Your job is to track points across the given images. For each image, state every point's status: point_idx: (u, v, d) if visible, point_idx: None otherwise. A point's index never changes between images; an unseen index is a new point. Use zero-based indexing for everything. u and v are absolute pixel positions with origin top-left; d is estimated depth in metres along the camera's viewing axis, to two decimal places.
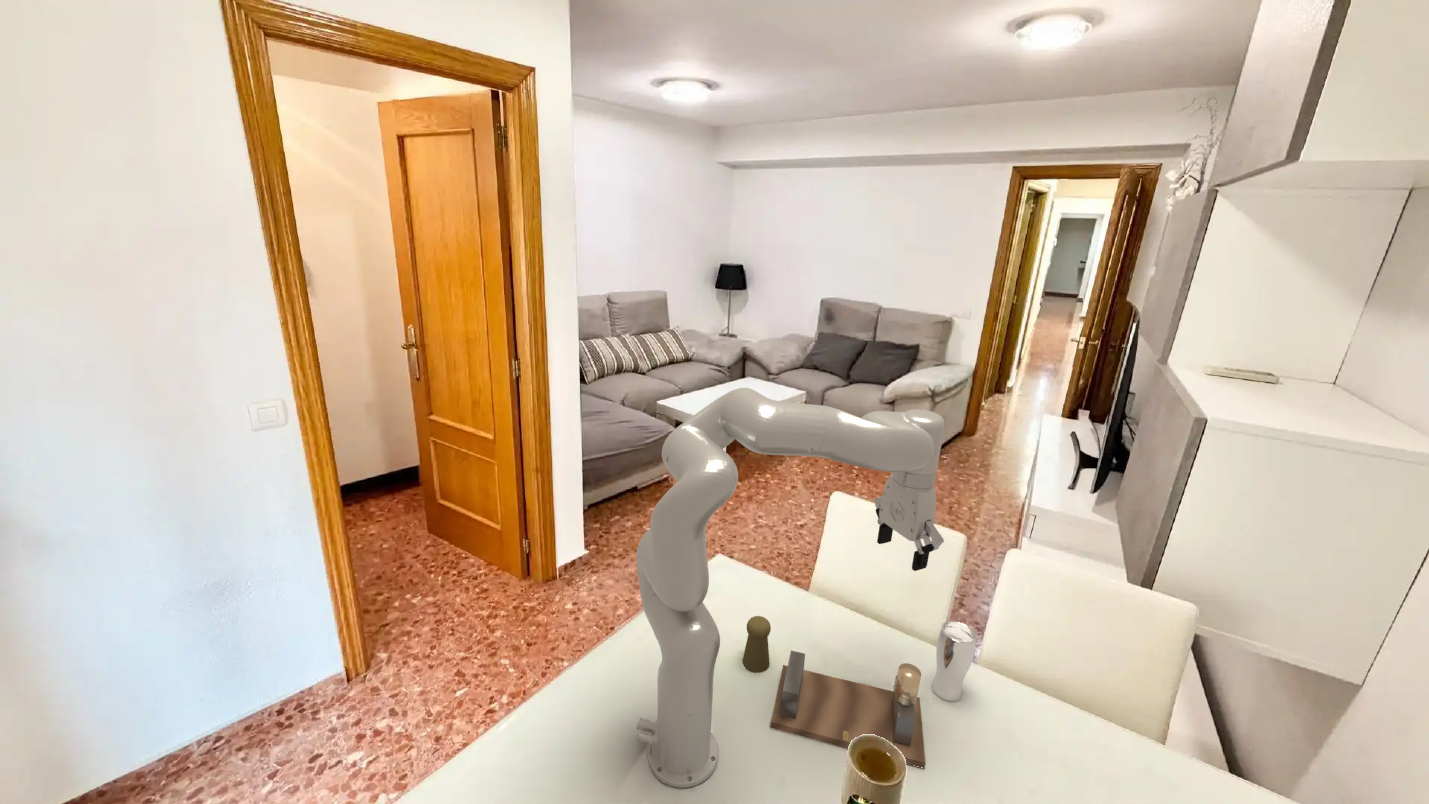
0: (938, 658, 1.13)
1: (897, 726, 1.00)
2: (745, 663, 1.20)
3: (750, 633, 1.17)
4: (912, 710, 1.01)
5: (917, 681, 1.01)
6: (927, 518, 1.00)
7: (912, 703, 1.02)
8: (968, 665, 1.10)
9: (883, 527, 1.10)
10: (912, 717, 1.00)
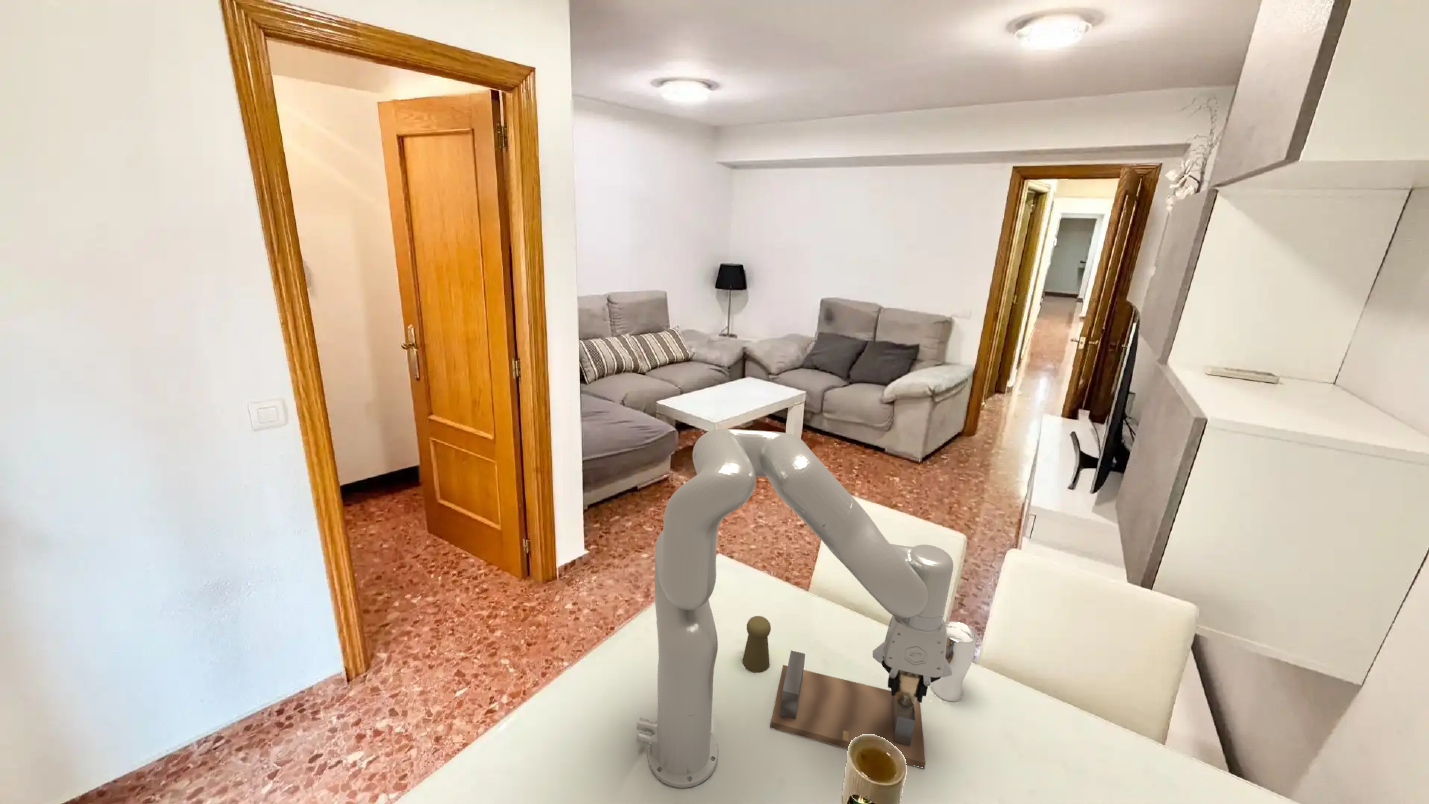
0: None
1: (897, 726, 1.00)
2: (745, 663, 1.20)
3: (750, 633, 1.17)
4: (912, 710, 1.01)
5: (917, 681, 1.01)
6: None
7: (912, 703, 1.02)
8: (968, 665, 1.10)
9: (897, 678, 1.02)
10: (912, 717, 1.00)
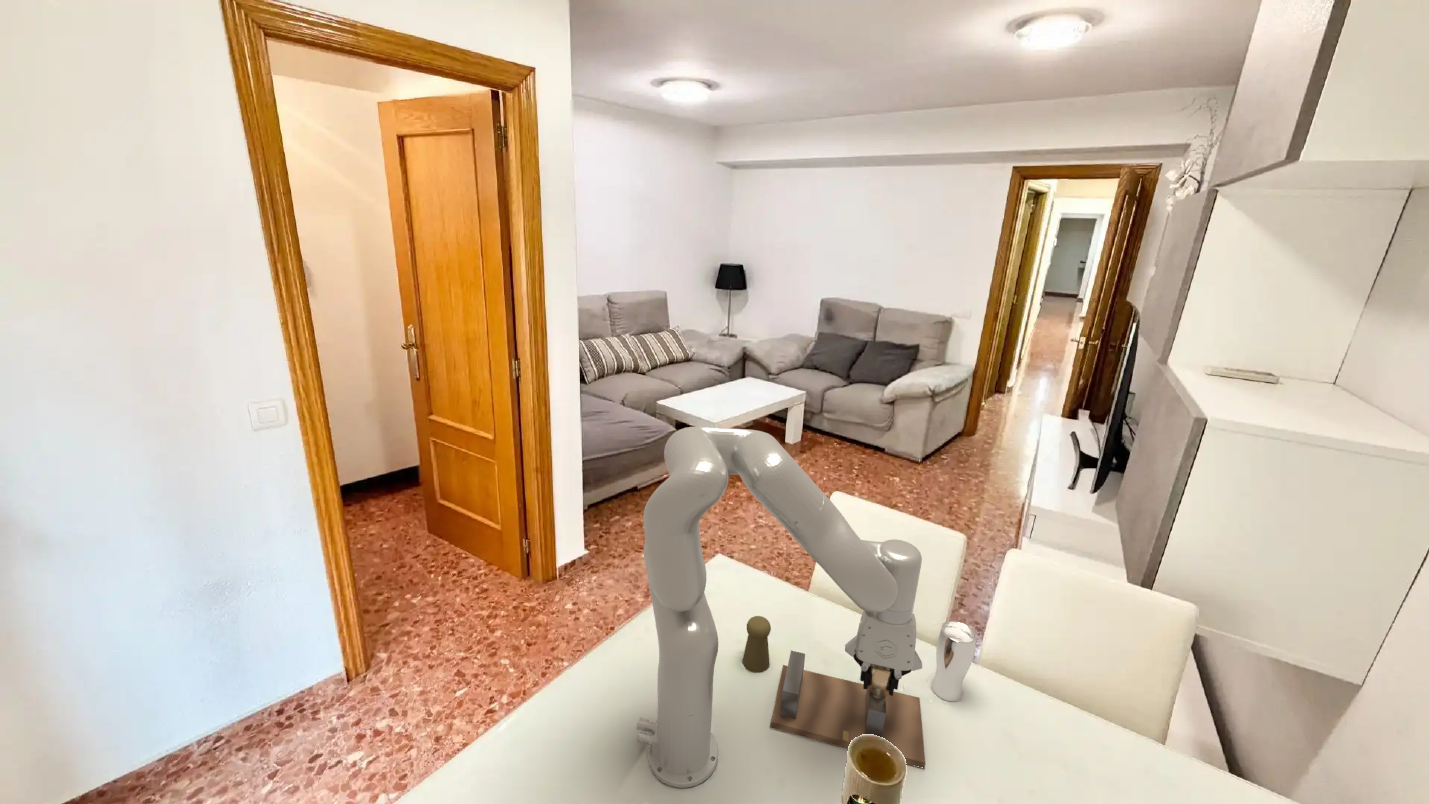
0: (938, 658, 1.13)
1: (868, 719, 1.02)
2: (745, 663, 1.20)
3: (750, 633, 1.17)
4: (883, 703, 1.02)
5: (889, 674, 1.02)
6: None
7: (884, 696, 1.03)
8: (968, 665, 1.10)
9: (869, 672, 1.03)
10: (883, 710, 1.01)
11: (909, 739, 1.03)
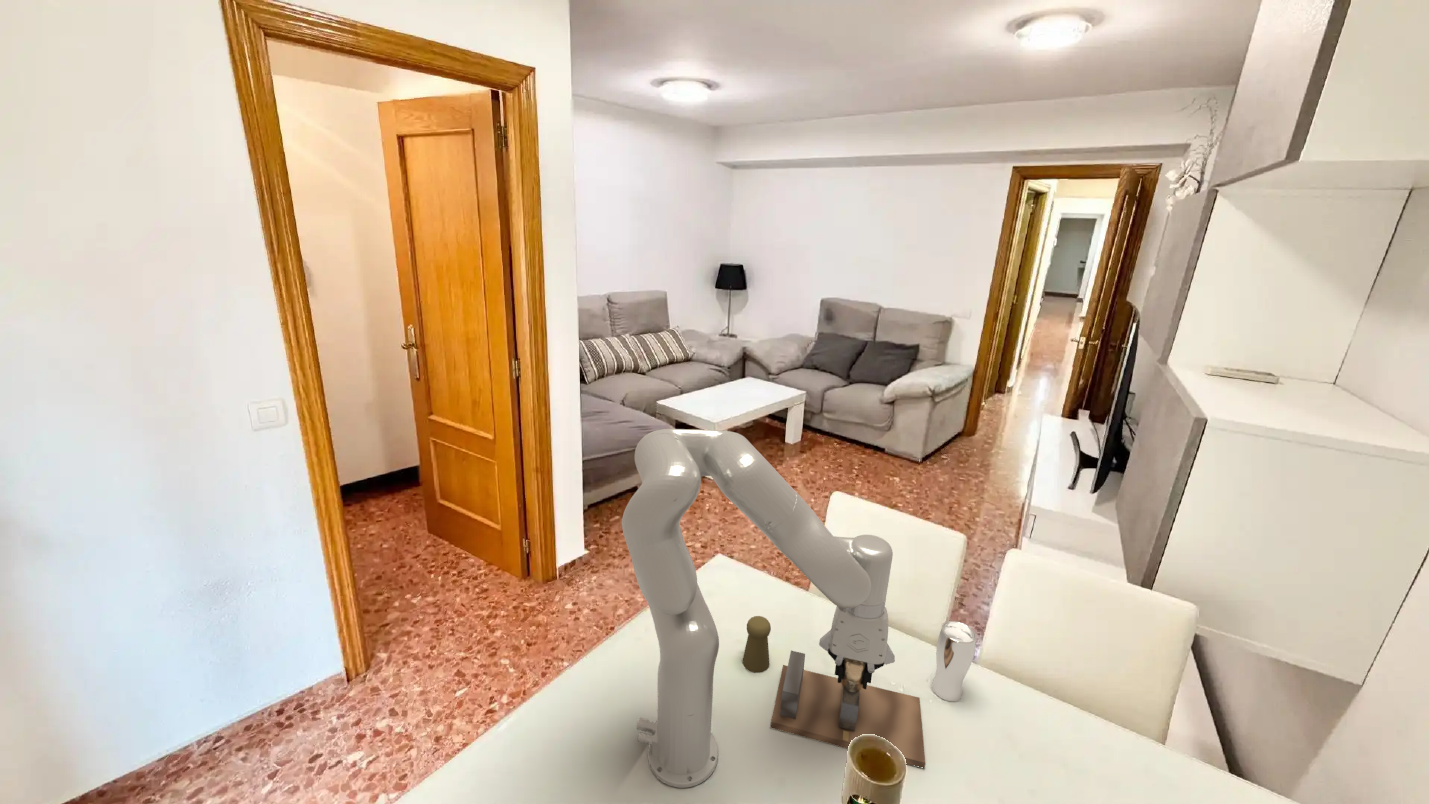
0: (938, 658, 1.13)
1: (842, 712, 1.03)
2: (745, 663, 1.20)
3: (750, 633, 1.17)
4: (857, 696, 1.04)
5: (862, 668, 1.03)
6: None
7: (857, 690, 1.05)
8: (968, 665, 1.10)
9: (843, 666, 1.05)
10: (856, 703, 1.02)
11: (909, 739, 1.03)
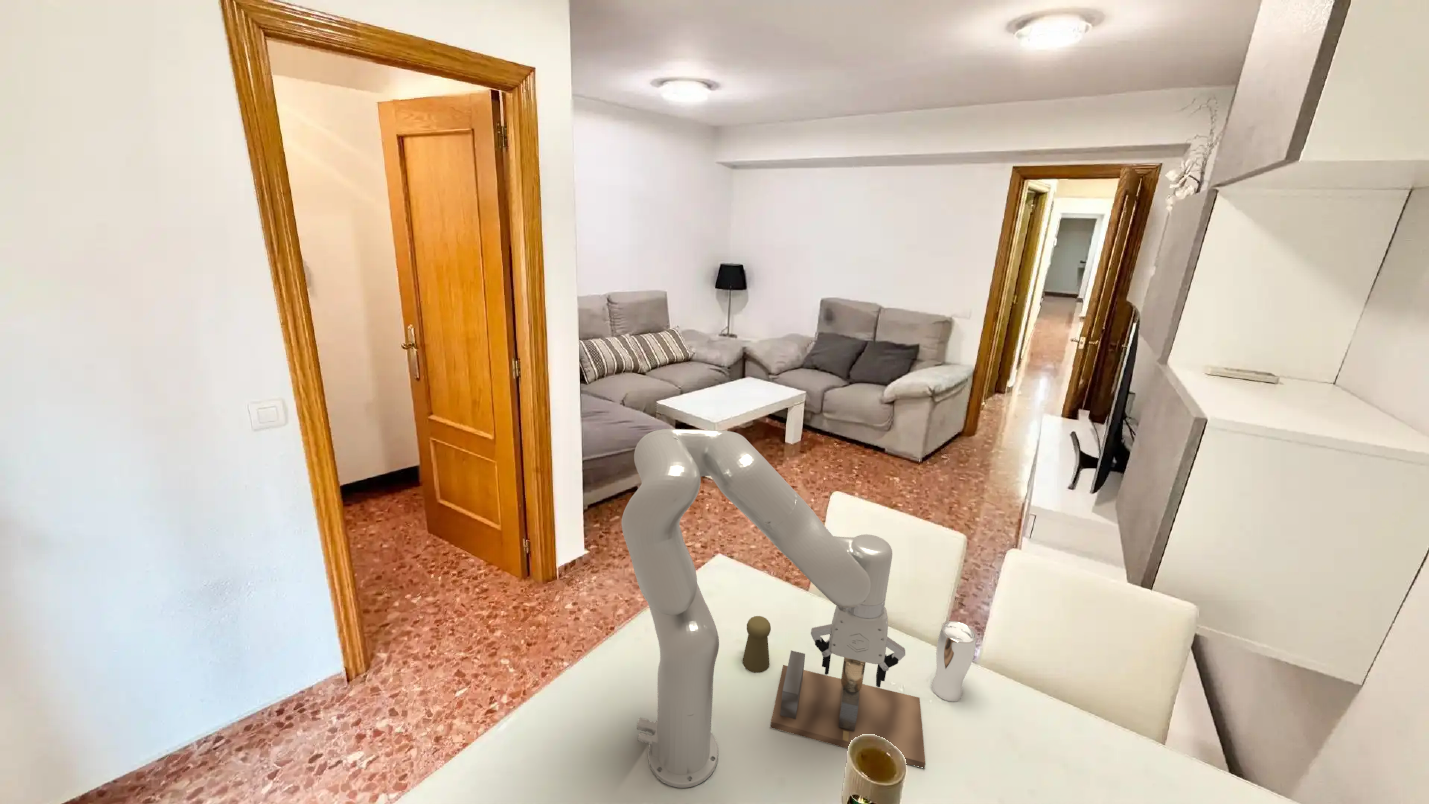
0: (938, 658, 1.13)
1: (842, 712, 1.03)
2: (745, 663, 1.20)
3: (750, 633, 1.17)
4: (857, 696, 1.04)
5: (862, 668, 1.03)
6: (886, 636, 1.01)
7: (857, 690, 1.05)
8: (968, 665, 1.10)
9: (830, 657, 1.05)
10: (855, 703, 1.02)
11: (909, 739, 1.03)
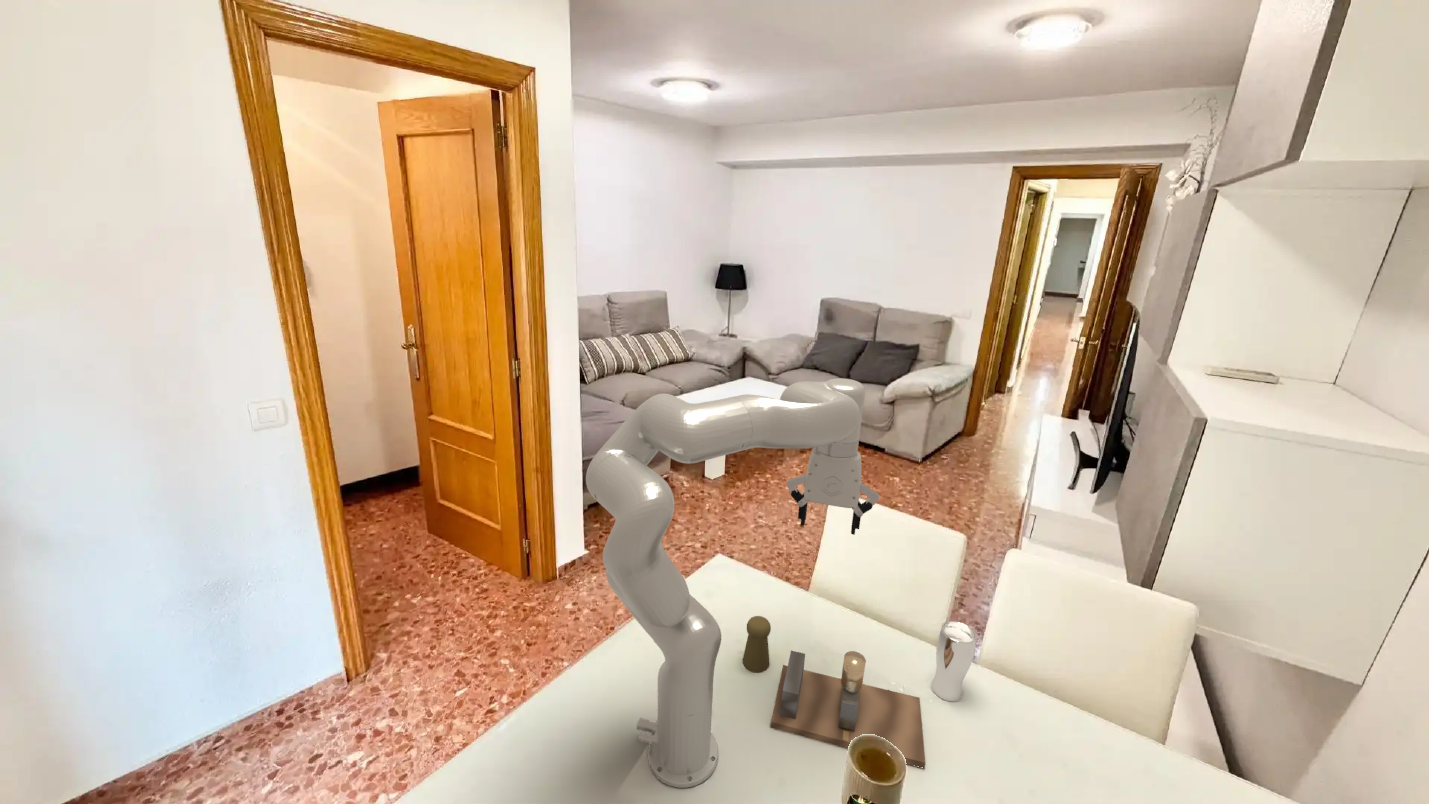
0: (938, 658, 1.13)
1: (842, 712, 1.03)
2: (745, 663, 1.20)
3: (750, 633, 1.17)
4: (857, 696, 1.04)
5: (862, 668, 1.03)
6: None
7: (857, 690, 1.05)
8: (968, 665, 1.10)
9: (805, 507, 1.06)
10: (855, 703, 1.02)
11: (909, 739, 1.03)
